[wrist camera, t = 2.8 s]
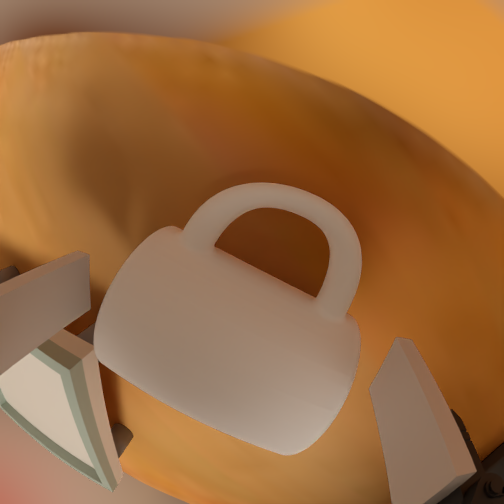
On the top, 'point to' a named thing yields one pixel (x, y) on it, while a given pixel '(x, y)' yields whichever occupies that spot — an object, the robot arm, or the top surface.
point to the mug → (237, 325)
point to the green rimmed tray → (65, 403)
